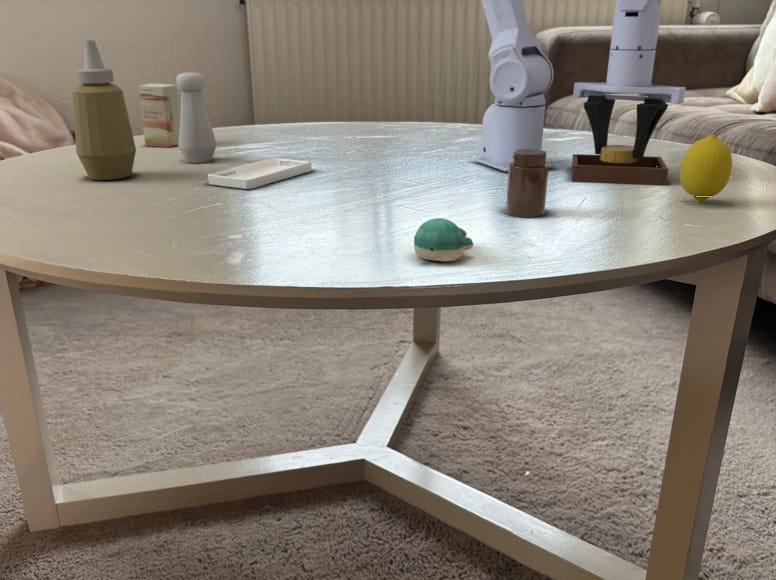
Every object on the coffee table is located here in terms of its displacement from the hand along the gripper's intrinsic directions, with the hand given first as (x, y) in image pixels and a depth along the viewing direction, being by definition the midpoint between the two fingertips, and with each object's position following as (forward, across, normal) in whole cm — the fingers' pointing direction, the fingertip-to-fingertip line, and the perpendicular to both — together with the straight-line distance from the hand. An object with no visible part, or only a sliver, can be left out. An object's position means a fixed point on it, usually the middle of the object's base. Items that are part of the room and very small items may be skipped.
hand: (619, 155), depth 105 cm
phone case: (+3, +40, +30) cm, 50 cm away
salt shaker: (+3, +57, +27) cm, 63 cm away
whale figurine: (+3, -1, +46) cm, 46 cm away
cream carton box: (+3, +74, +21) cm, 77 cm away
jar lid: (-1, 0, 0) cm, 1 cm away
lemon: (+3, -14, +9) cm, 17 cm away
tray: (+3, 0, 0) cm, 3 cm away
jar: (+3, 0, +26) cm, 26 cm away
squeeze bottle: (+3, +57, +43) cm, 72 cm away
